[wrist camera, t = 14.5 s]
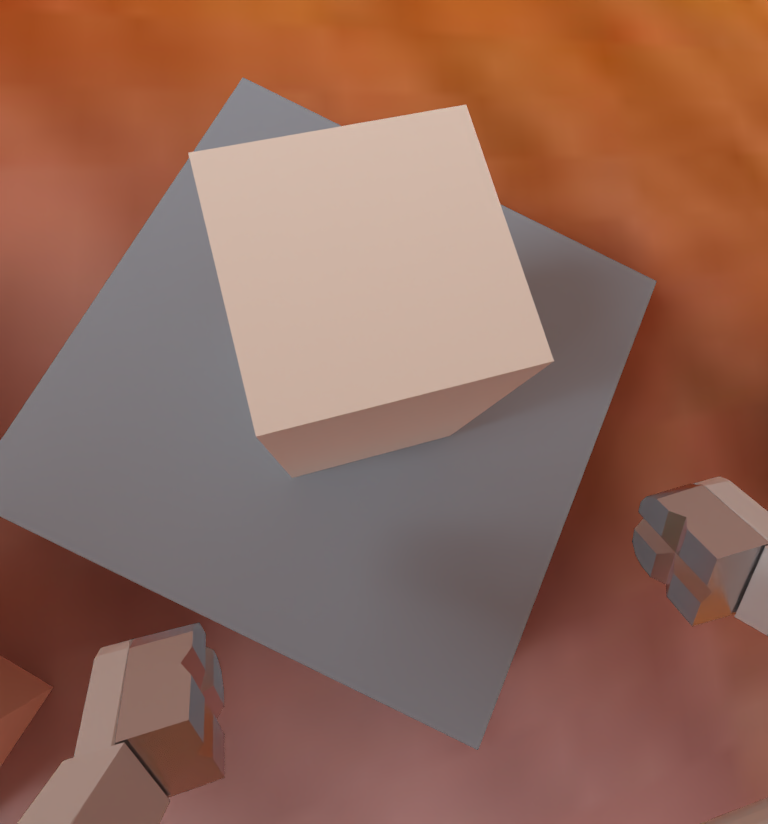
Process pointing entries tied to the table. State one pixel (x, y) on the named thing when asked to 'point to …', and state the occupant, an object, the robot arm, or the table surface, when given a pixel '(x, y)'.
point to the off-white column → (367, 285)
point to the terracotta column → (17, 703)
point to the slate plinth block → (322, 490)
